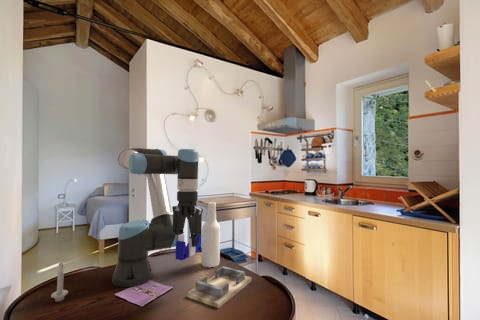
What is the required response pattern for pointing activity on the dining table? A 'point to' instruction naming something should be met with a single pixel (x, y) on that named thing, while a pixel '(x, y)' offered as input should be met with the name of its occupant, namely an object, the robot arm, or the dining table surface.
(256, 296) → the dining table surface
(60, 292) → the screw
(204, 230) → the alcohol
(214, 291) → the board
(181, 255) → the cable clip
